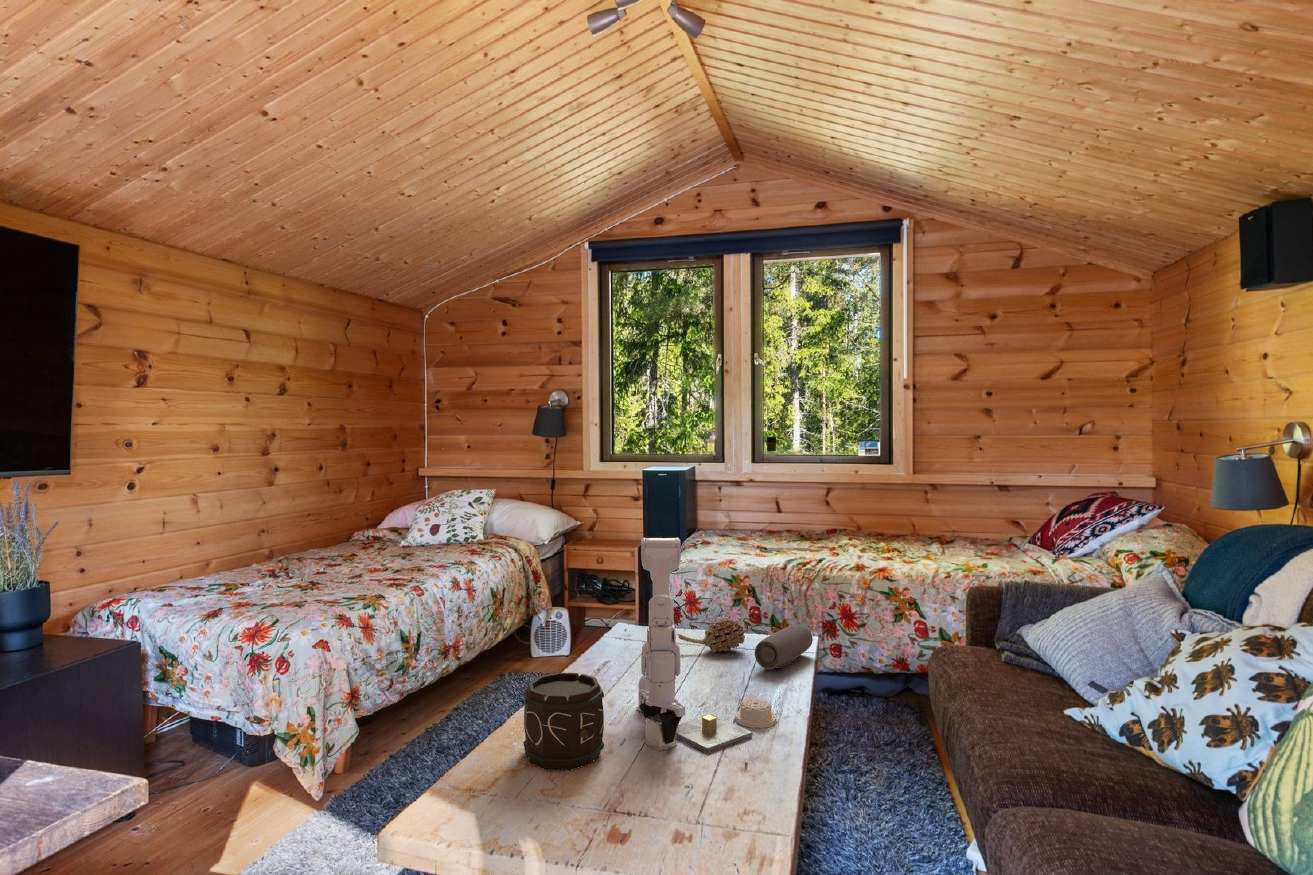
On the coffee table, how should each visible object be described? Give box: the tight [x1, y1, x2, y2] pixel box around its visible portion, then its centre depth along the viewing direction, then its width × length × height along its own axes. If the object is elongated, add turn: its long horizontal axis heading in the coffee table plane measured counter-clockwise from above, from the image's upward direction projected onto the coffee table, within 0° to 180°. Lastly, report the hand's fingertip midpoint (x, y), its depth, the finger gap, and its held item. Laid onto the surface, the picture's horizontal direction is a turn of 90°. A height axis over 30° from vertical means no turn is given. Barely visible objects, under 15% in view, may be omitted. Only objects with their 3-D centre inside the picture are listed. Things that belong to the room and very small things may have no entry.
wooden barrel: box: [522, 672, 605, 771], centre depth 167 cm, size 18×18×16 cm
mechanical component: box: [734, 698, 777, 729], centre depth 187 cm, size 10×4×10 cm
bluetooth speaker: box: [754, 623, 814, 670], centre depth 231 cm, size 23×9×10 cm, turn 144°
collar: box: [645, 713, 678, 752], centre depth 173 cm, size 5×5×6 cm
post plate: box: [677, 713, 753, 754], centre depth 178 cm, size 14×14×4 cm
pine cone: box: [676, 619, 746, 653], centre depth 242 cm, size 22×10×10 cm, turn 98°
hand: (661, 738), depth 173 cm, fingers closed on collar, 5 cm apart
